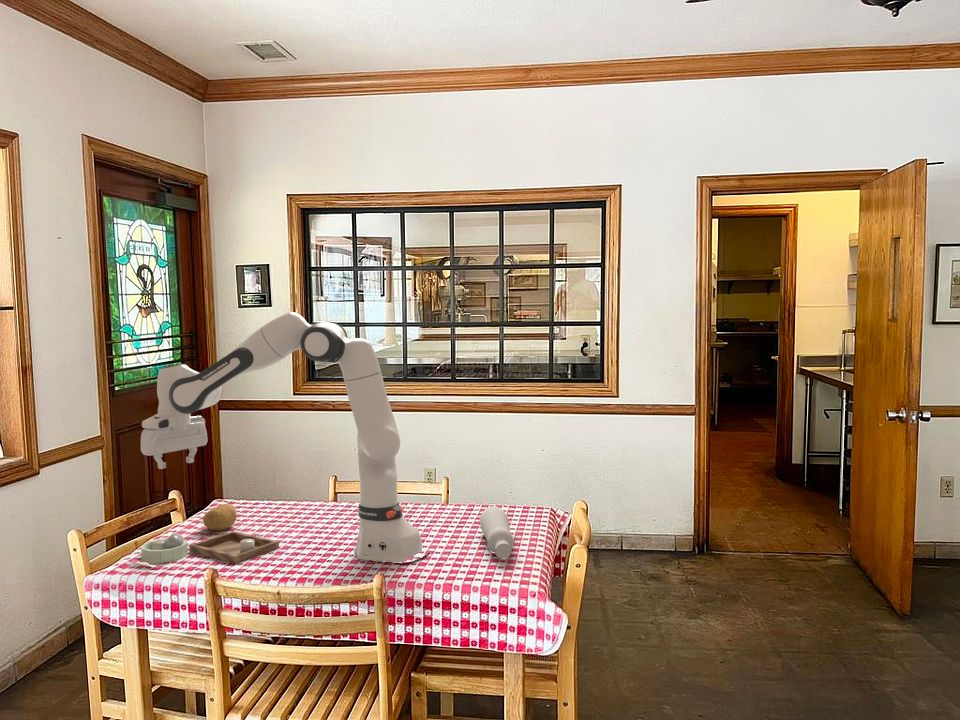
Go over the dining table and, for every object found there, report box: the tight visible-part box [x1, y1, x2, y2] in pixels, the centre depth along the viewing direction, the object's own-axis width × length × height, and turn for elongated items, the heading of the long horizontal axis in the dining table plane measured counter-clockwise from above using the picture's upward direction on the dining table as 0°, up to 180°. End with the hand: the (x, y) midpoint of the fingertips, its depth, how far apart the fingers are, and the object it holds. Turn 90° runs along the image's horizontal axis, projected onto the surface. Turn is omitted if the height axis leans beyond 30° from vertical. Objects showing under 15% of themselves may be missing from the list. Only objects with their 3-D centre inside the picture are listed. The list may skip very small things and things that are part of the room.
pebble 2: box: [164, 532, 184, 549], centre depth 203 cm, size 4×4×4 cm
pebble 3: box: [240, 539, 254, 553], centre depth 206 cm, size 4×4×4 cm
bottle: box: [479, 505, 515, 559], centre depth 214 cm, size 9×9×30 cm
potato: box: [202, 503, 238, 532], centre depth 231 cm, size 10×14×8 cm
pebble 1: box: [153, 540, 165, 550], centre depth 204 cm, size 4×4×4 cm
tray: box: [188, 530, 280, 565], centre depth 209 cm, size 20×16×3 cm
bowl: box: [140, 537, 189, 564], centre depth 204 cm, size 12×12×4 cm
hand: (176, 465), depth 209 cm, fingers open, 8 cm apart
